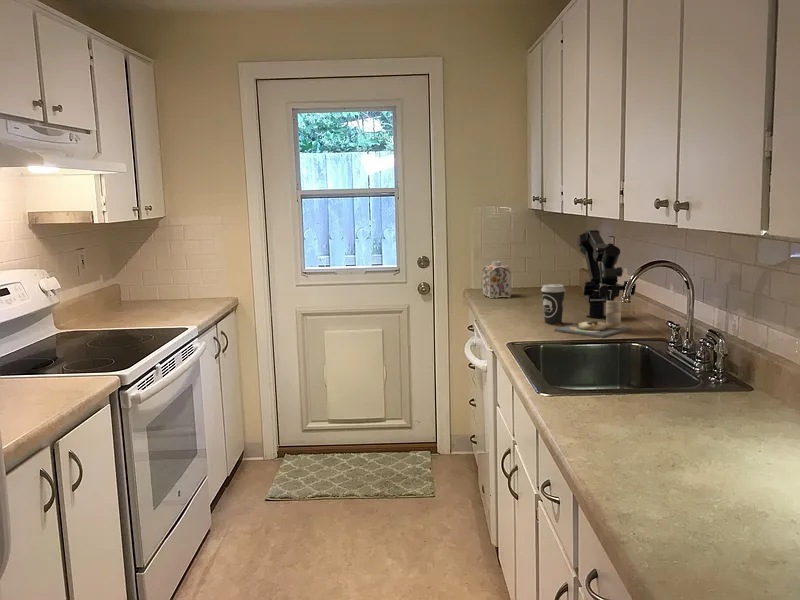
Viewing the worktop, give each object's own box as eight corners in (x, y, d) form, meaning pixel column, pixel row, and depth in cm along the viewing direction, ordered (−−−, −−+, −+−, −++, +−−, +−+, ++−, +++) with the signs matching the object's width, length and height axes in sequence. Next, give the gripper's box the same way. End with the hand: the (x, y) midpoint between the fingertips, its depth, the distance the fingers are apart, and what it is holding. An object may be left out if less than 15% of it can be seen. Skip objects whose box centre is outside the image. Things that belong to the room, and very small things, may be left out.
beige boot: (580, 331, 249) (580, 304, 248) (577, 325, 261) (577, 299, 260) (623, 331, 246) (624, 304, 245) (618, 325, 259) (619, 299, 257)
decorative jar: (482, 295, 357) (481, 261, 355) (503, 294, 359) (503, 260, 357) (489, 298, 345) (489, 263, 343) (511, 297, 348) (511, 262, 345)
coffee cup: (566, 325, 269) (566, 286, 267) (541, 324, 271) (540, 287, 269) (565, 320, 278) (565, 283, 276) (541, 320, 280) (540, 284, 278)
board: (584, 323, 271) (584, 320, 271) (631, 329, 256) (631, 326, 256) (554, 331, 258) (554, 328, 257) (601, 337, 243) (601, 334, 243)
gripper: (584, 260, 261) (586, 293, 252) (635, 259, 258) (639, 292, 249) (582, 278, 270) (584, 311, 261) (631, 278, 267) (636, 310, 258)
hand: (610, 306), depth 257 cm, fingers closed
